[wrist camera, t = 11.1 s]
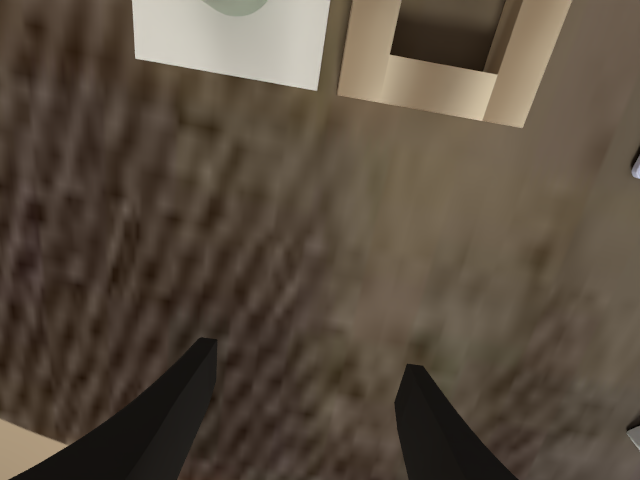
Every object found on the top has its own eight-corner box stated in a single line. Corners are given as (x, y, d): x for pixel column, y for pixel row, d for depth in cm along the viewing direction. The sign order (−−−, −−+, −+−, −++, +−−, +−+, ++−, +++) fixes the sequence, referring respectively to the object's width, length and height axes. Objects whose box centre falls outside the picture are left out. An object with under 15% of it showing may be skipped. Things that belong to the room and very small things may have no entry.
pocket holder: (586, -99, 14) (619, -123, 13) (504, 124, 18) (522, 127, 16) (376, -144, 14) (382, -174, 12) (336, 93, 18) (337, 94, 16)
